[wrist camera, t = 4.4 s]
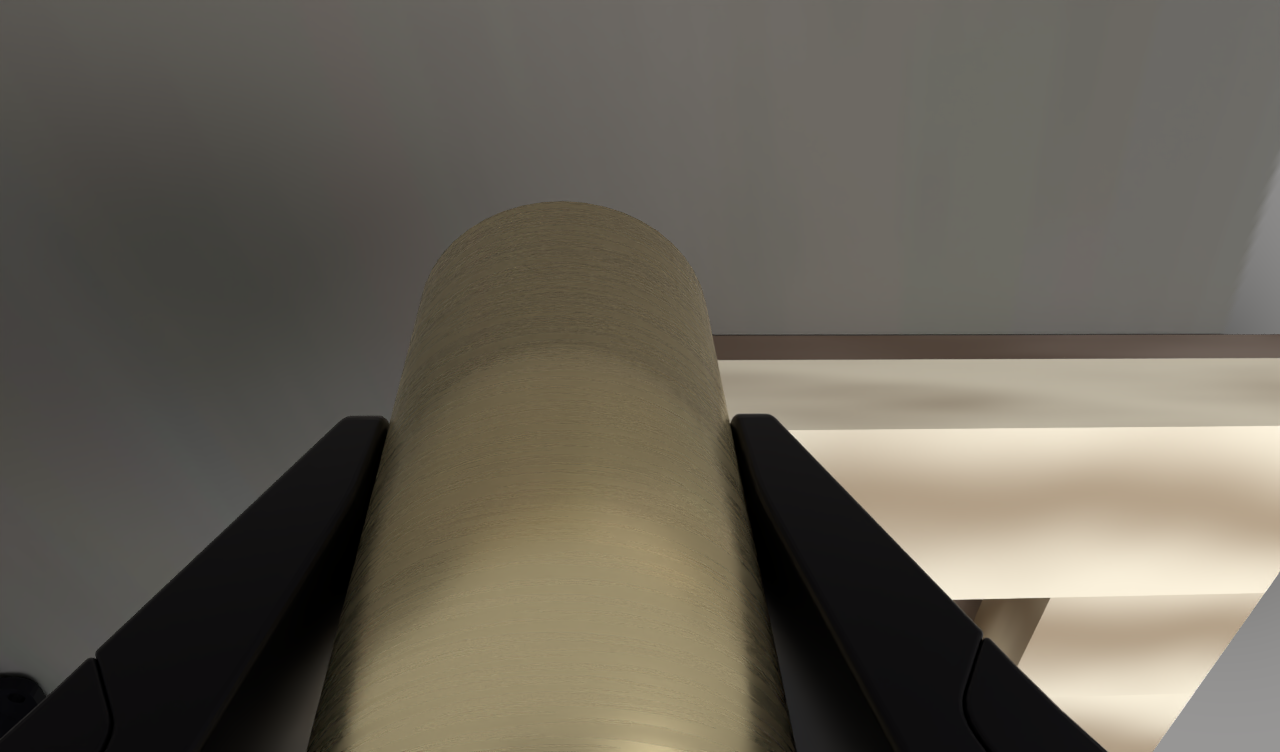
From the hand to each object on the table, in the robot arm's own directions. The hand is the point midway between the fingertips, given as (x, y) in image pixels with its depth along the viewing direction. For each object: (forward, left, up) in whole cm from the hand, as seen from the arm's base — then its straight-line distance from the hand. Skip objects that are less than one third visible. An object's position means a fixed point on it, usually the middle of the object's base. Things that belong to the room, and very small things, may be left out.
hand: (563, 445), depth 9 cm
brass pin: (0, 0, -2) cm, 2 cm away
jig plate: (-14, -10, -11) cm, 20 cm away
